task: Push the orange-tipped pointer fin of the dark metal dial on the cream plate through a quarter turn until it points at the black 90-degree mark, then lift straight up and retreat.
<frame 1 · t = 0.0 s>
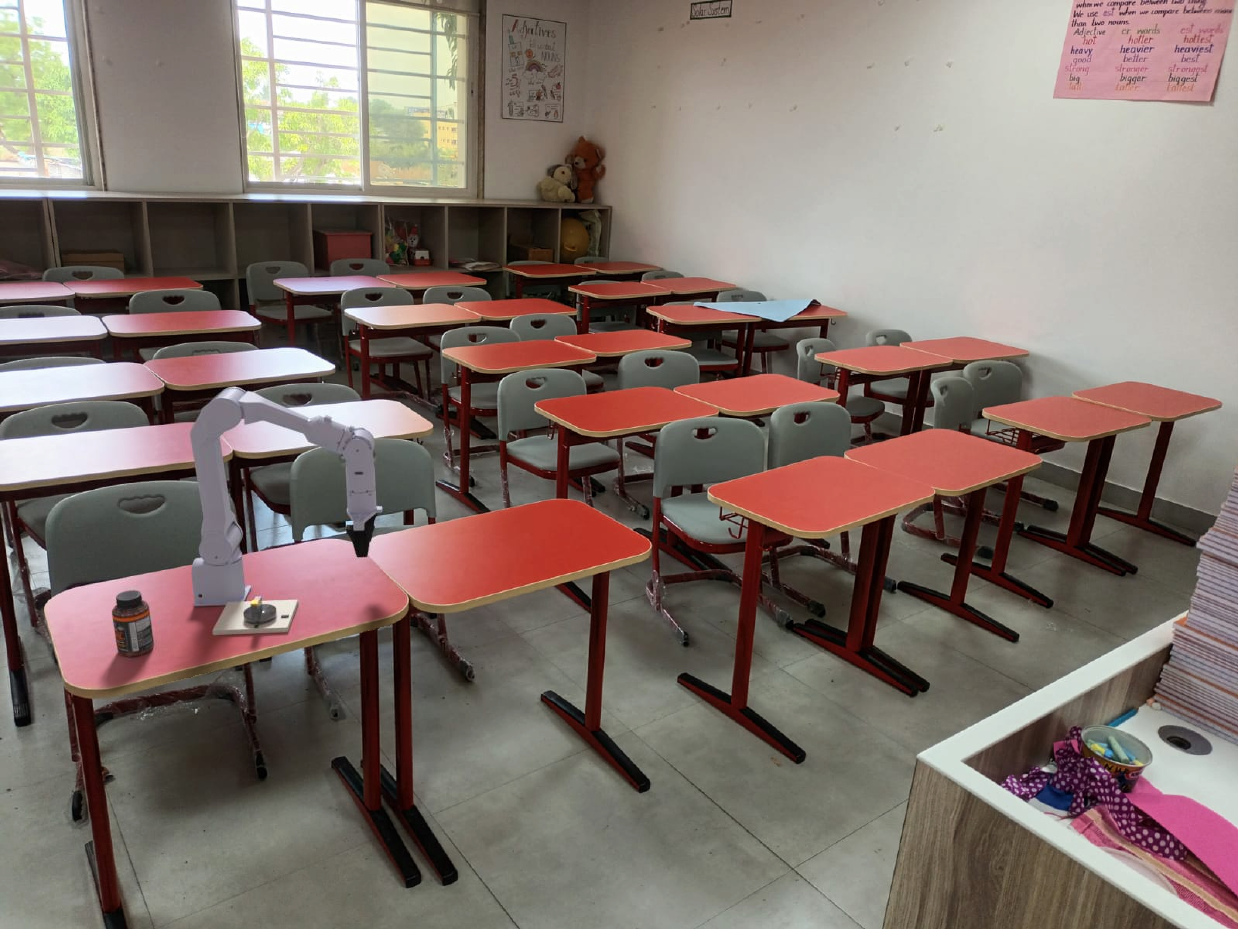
hand: (364, 549, 182), 10 cm above the table, fingers open, 7 cm apart
dial: (258, 606, 169), point 4 cm above the table, hinge at 0.0°
dial plate: (257, 618, 172), on the table
supplement bottle: (136, 650, 159), on the table
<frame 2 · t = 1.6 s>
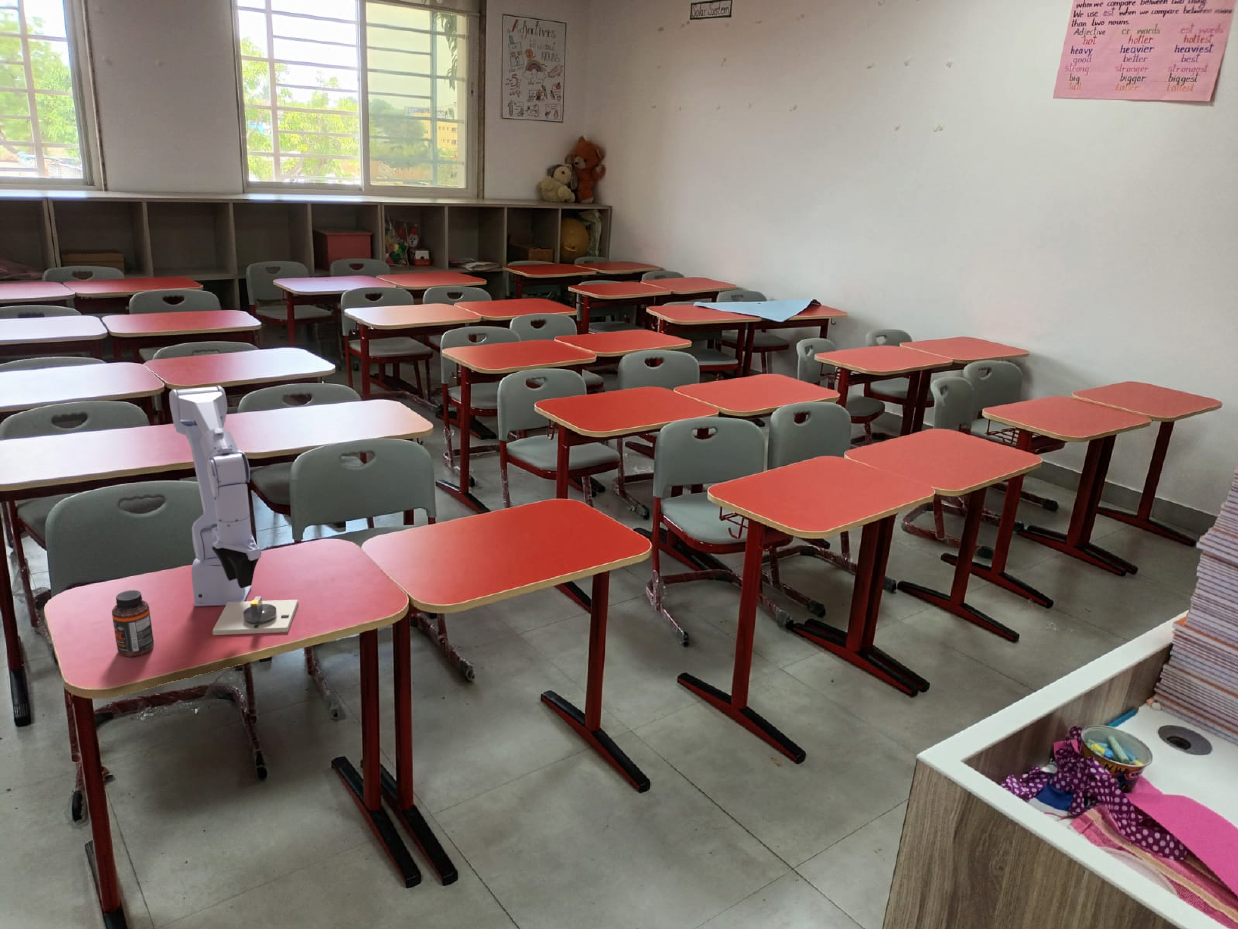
hand: (239, 582, 165), 10 cm above the table, fingers open, 4 cm apart
nothing on the table moved.
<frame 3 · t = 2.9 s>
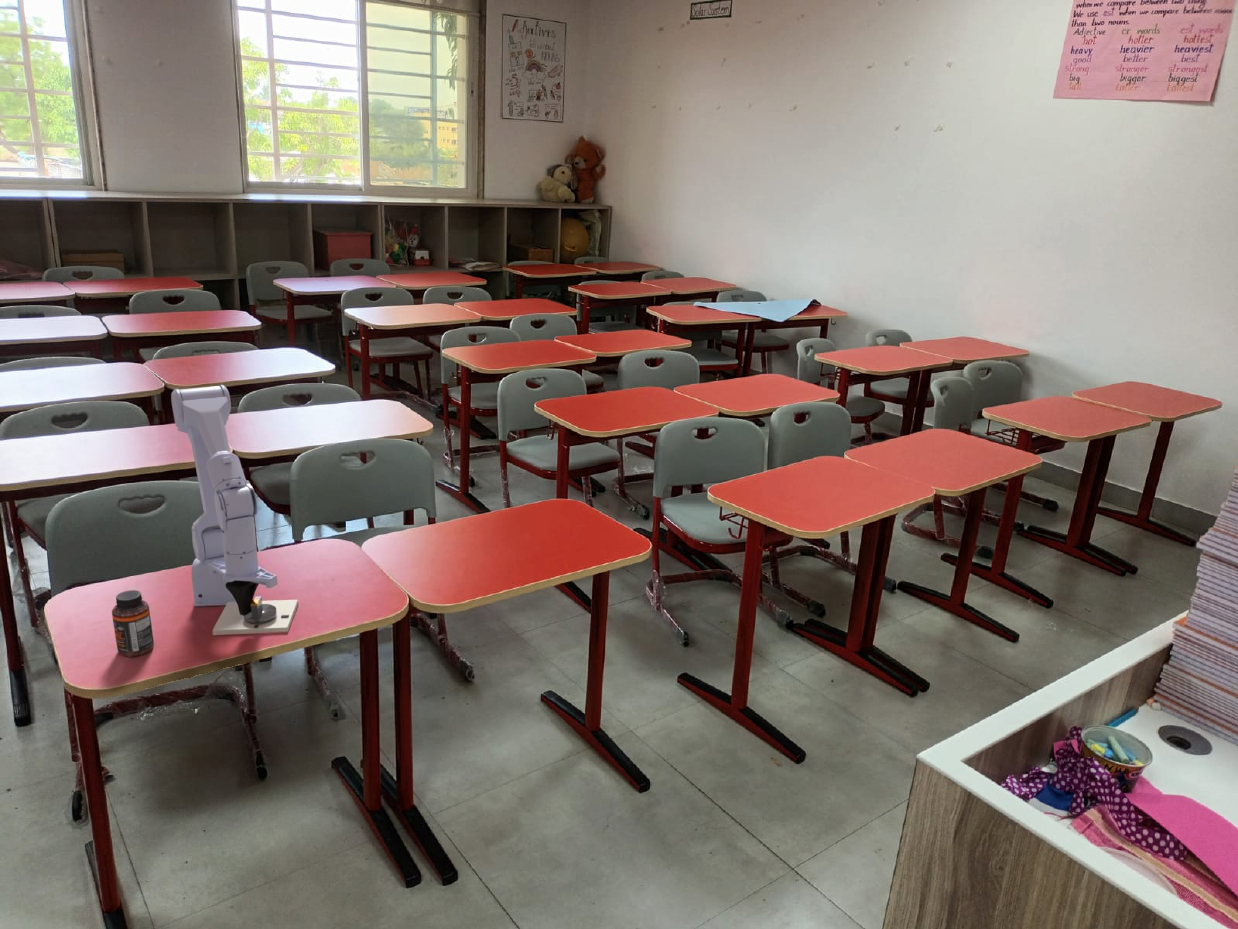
hand: (246, 613, 167), 4 cm above the table, fingers closed, pressing on dial
dial: (258, 606, 169), point 4 cm above the table, hinge at 0.5°, touching gripper
everything else where it was.
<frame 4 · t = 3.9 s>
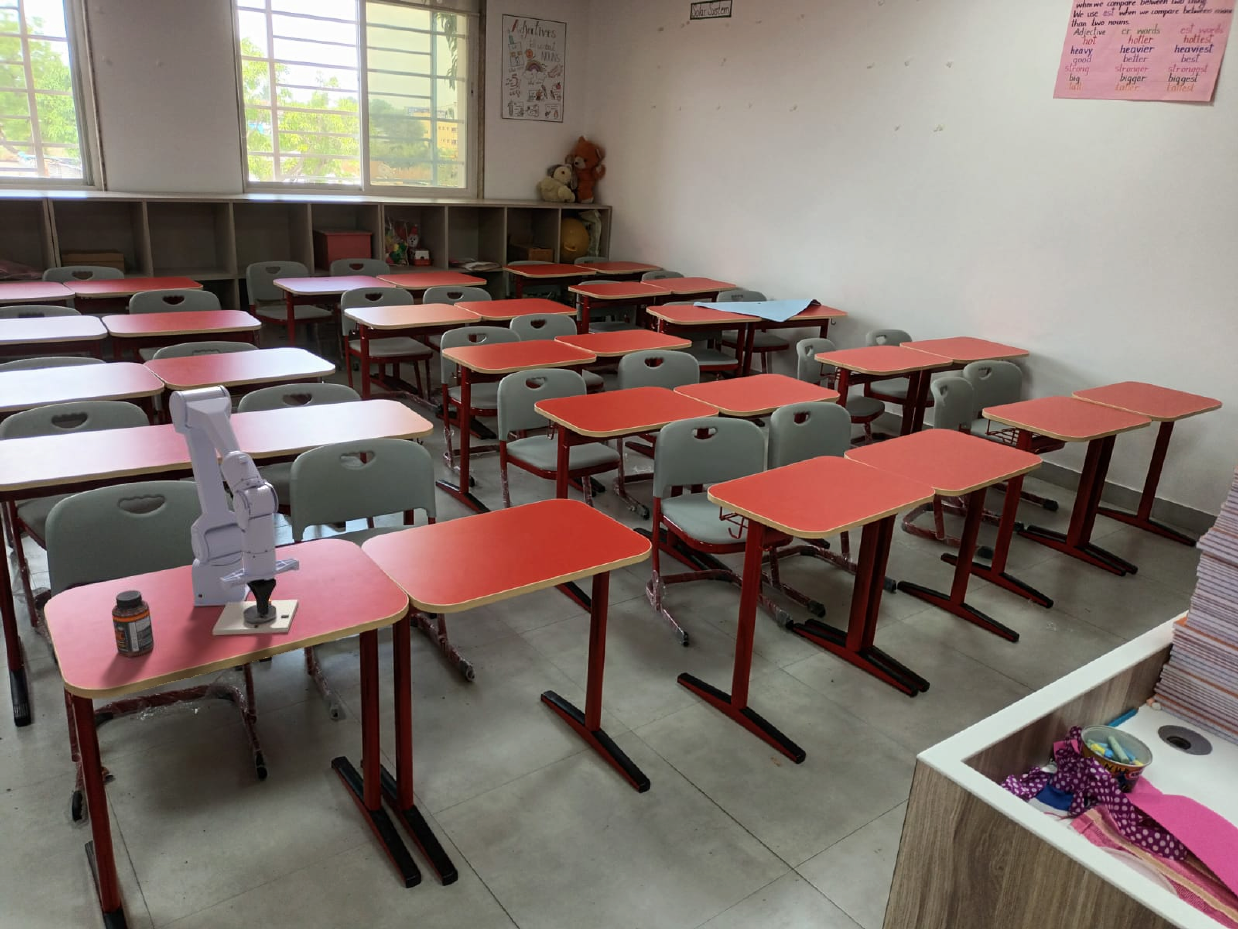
hand: (263, 612, 167), 4 cm above the table, fingers closed, pressing on dial
dial: (260, 606, 169), point 4 cm above the table, hinge at 38.0°, touching gripper
everything else where it was.
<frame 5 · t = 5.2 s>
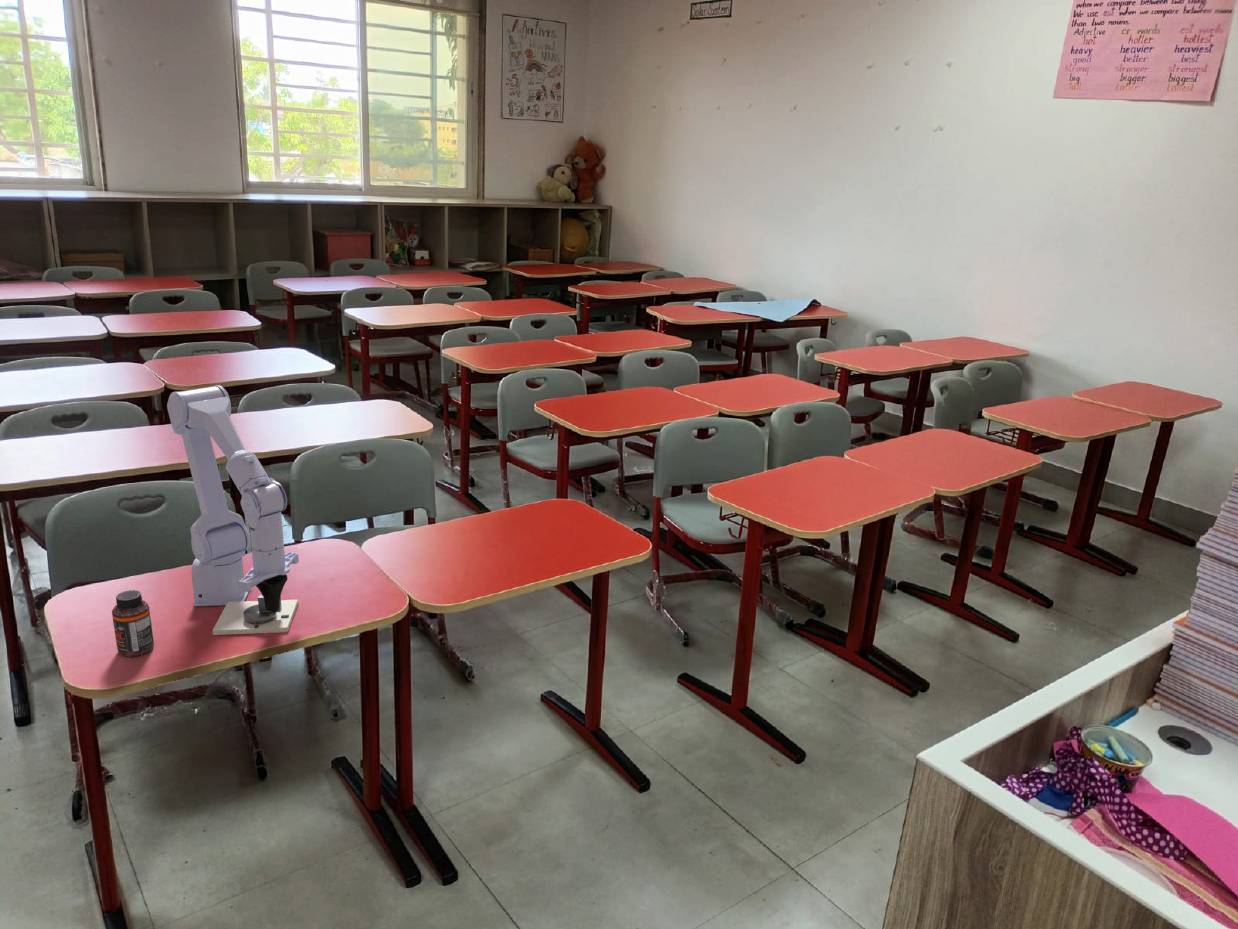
hand: (273, 609, 168), 4 cm above the table, fingers closed, pressing on dial
dial: (262, 605, 170), point 4 cm above the table, hinge at 86.5°, touching gripper
everything else where it was.
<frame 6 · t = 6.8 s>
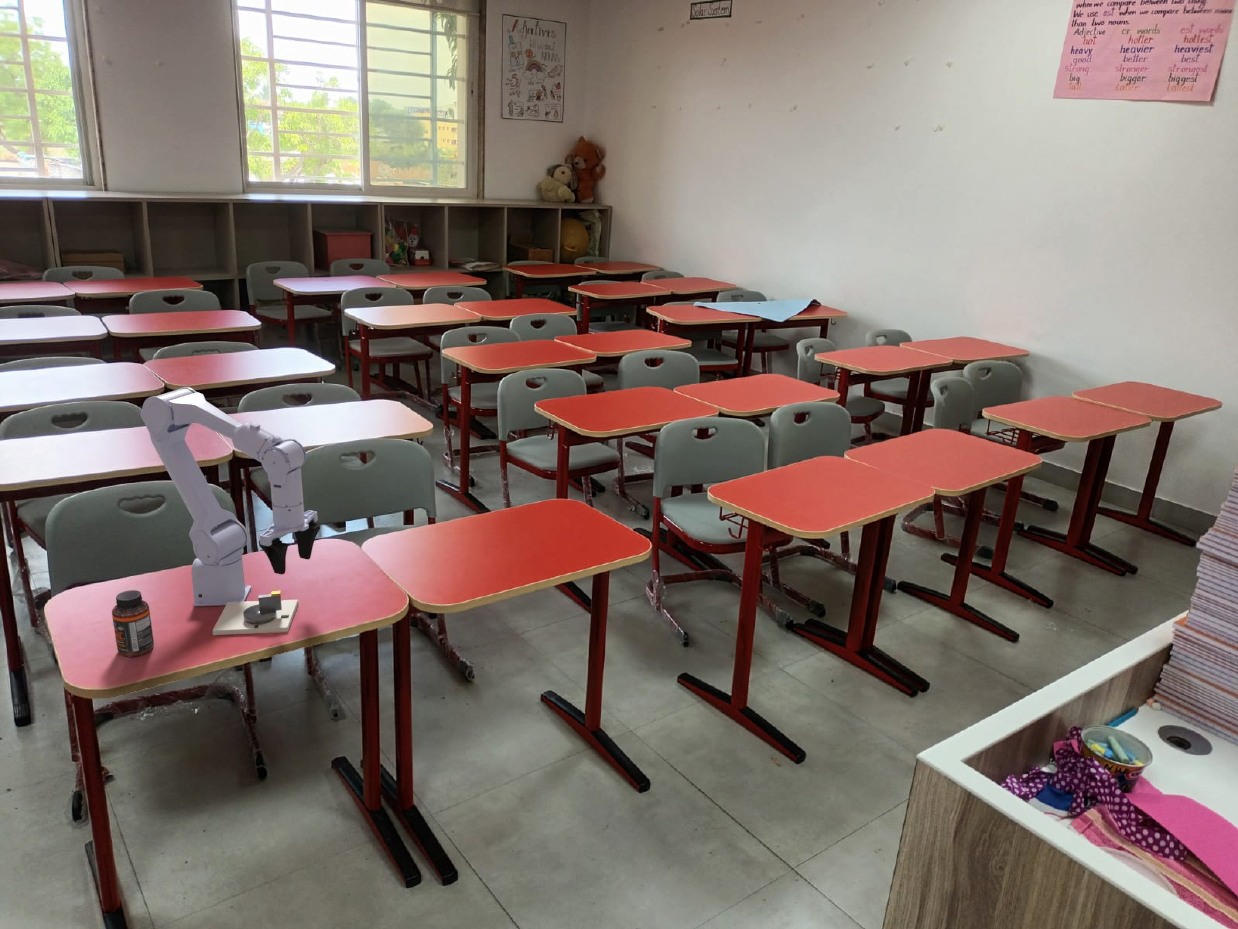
hand: (292, 565, 173), 10 cm above the table, fingers open, 7 cm apart
dial: (262, 605, 170), point 4 cm above the table, hinge at 99.0°
everything else where it was.
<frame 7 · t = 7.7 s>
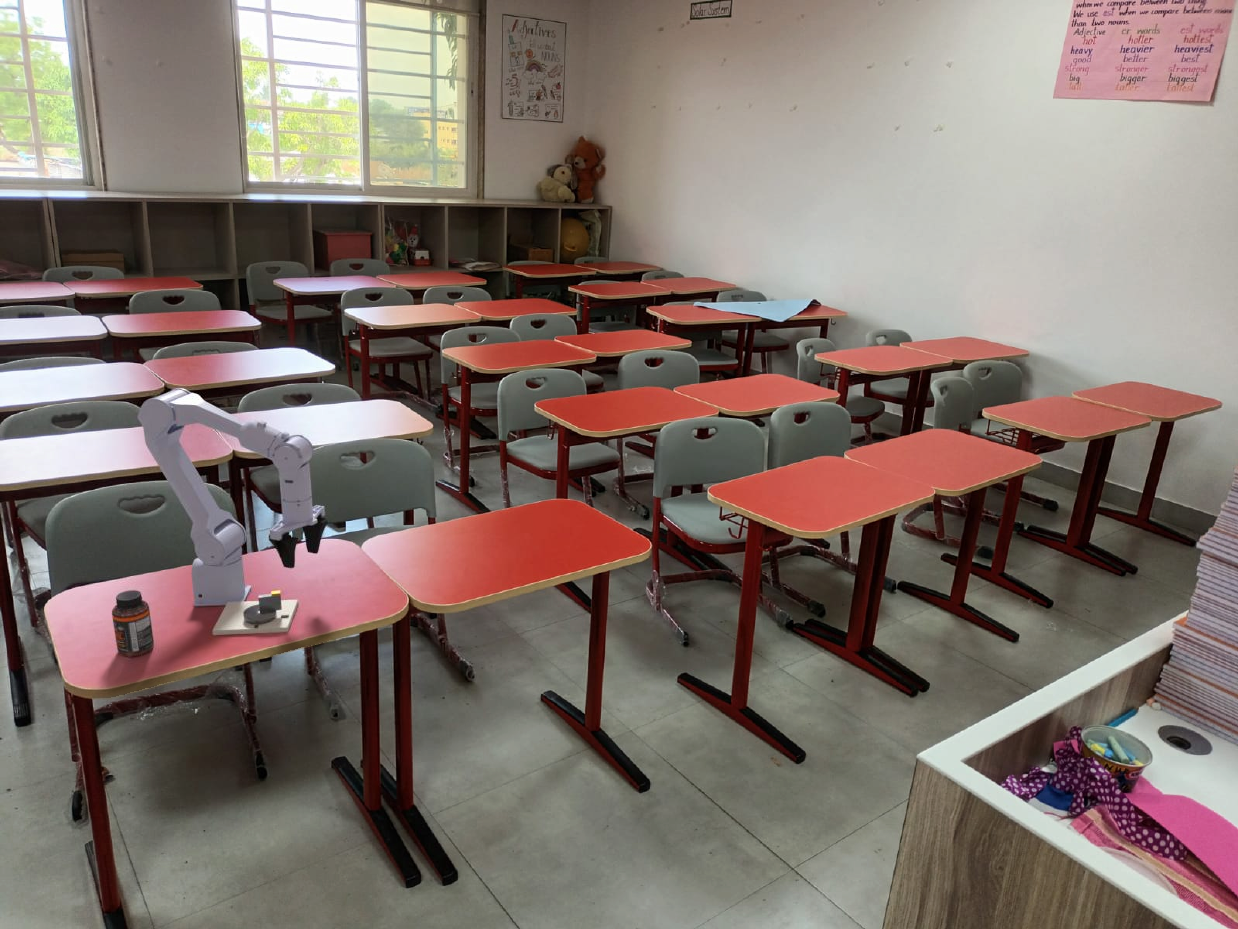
hand: (301, 559, 176), 10 cm above the table, fingers open, 7 cm apart
dial: (262, 605, 170), point 4 cm above the table, hinge at 101.0°
everything else where it was.
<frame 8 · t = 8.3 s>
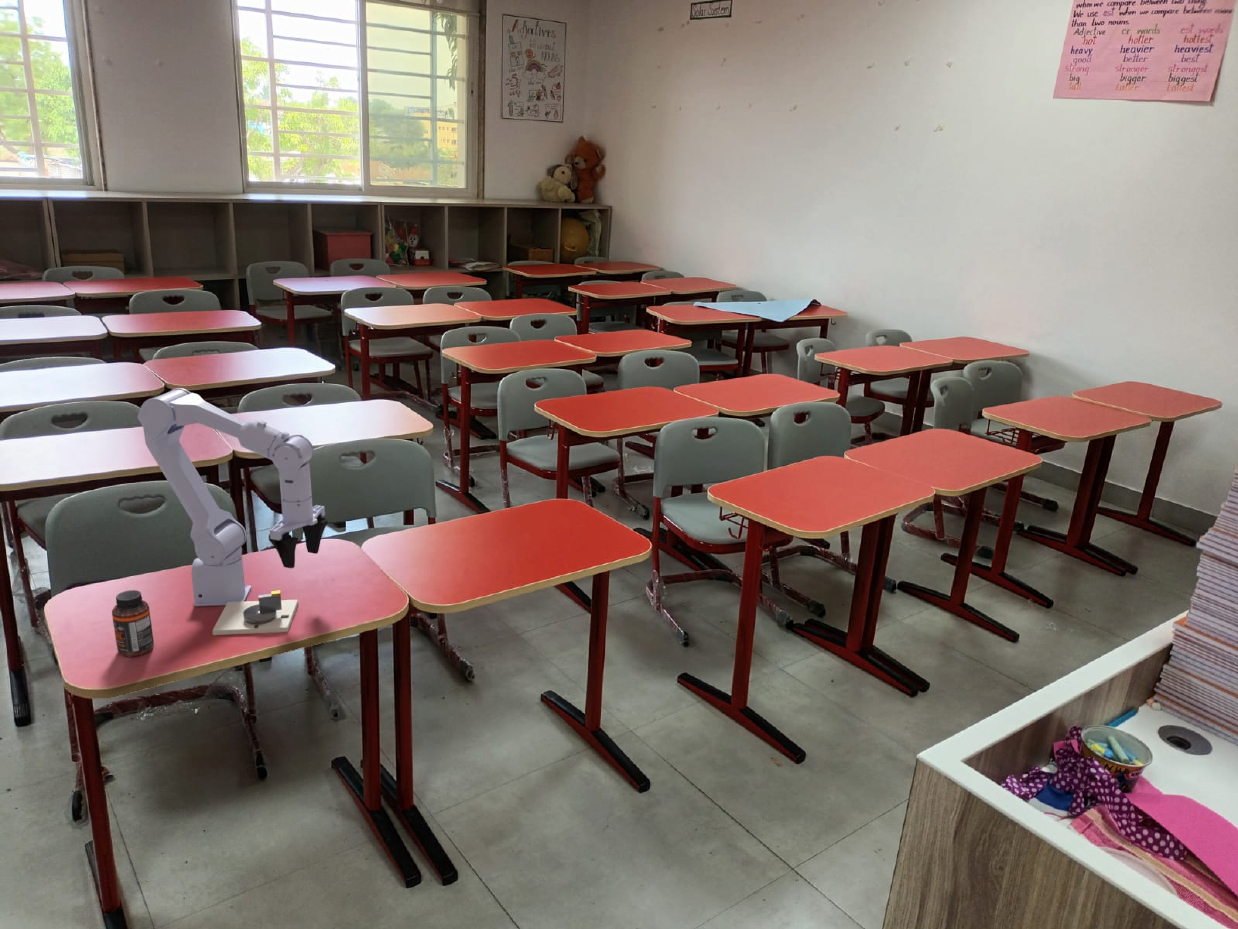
hand: (301, 559, 176), 10 cm above the table, fingers open, 7 cm apart
dial: (262, 605, 170), point 4 cm above the table, hinge at 101.5°
everything else where it was.
at the end: dial at +102° (first picture: +0°); dial touching nothing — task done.
